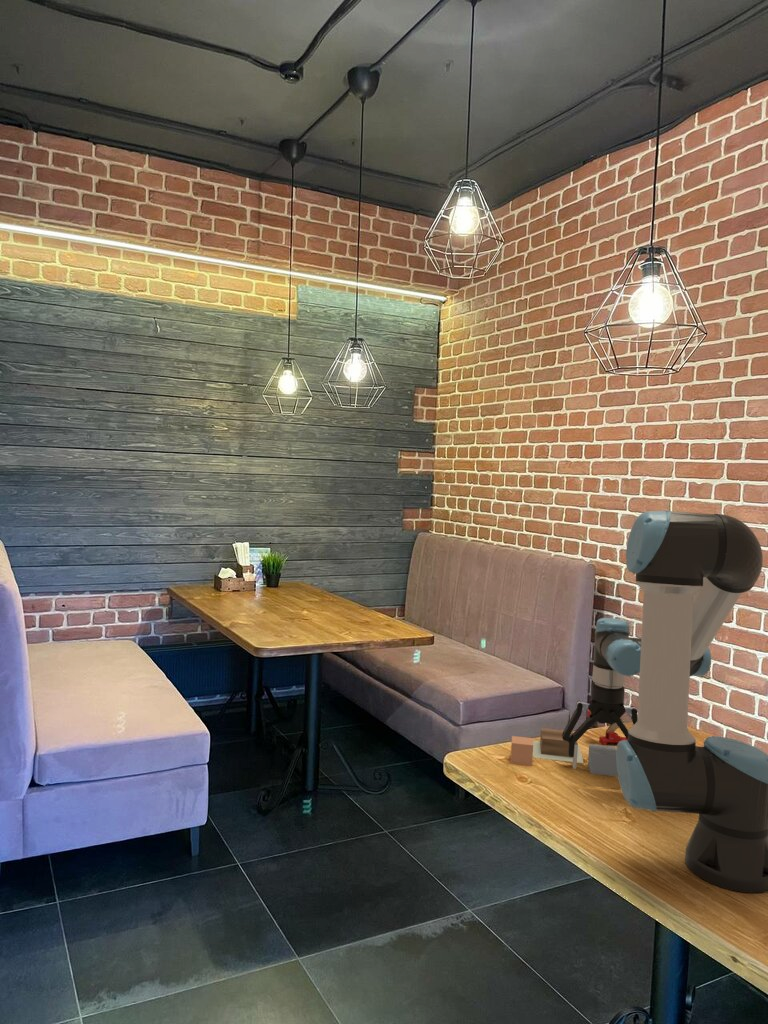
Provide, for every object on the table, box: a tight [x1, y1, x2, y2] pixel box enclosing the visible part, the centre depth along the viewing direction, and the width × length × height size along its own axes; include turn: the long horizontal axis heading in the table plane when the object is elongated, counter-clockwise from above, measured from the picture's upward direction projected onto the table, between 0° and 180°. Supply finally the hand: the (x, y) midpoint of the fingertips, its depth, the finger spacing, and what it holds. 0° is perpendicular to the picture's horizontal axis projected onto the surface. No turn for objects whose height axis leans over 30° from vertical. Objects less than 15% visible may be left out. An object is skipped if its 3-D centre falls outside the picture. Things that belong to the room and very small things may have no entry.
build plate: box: [532, 740, 584, 764], centre depth 191 cm, size 12×12×1 cm
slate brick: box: [587, 743, 618, 777], centre depth 180 cm, size 6×6×6 cm
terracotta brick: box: [510, 735, 534, 766], centre depth 183 cm, size 5×5×6 cm
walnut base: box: [539, 727, 574, 758], centre depth 191 cm, size 8×8×4 cm
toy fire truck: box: [586, 710, 627, 747], centre depth 199 cm, size 3×14×10 cm, turn 94°
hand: (601, 773), depth 180 cm, fingers open, 12 cm apart
